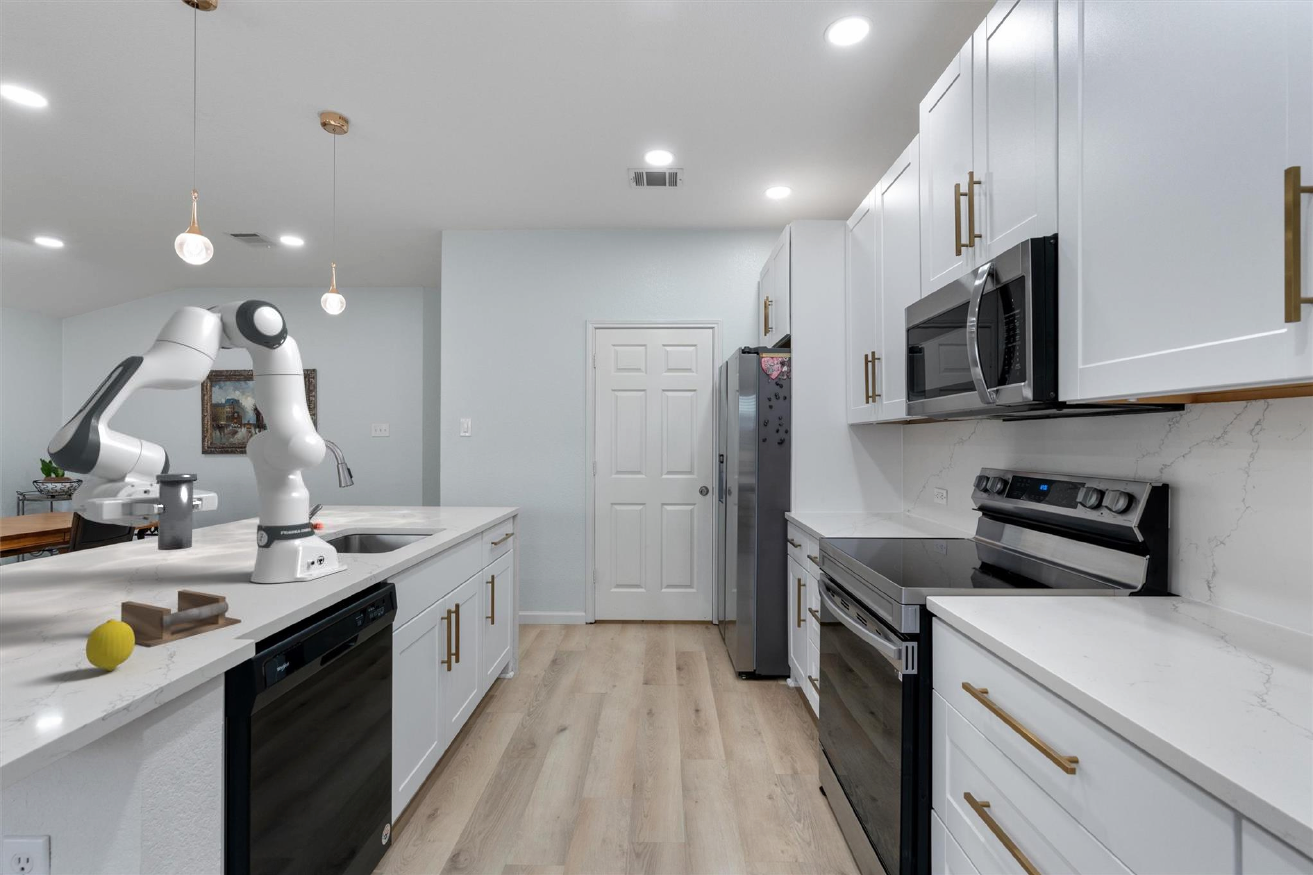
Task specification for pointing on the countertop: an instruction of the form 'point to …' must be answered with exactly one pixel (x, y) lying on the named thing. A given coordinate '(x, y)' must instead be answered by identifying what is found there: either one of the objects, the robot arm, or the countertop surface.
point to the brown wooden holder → (176, 618)
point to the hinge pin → (175, 511)
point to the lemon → (110, 644)
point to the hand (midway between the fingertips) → (178, 507)
